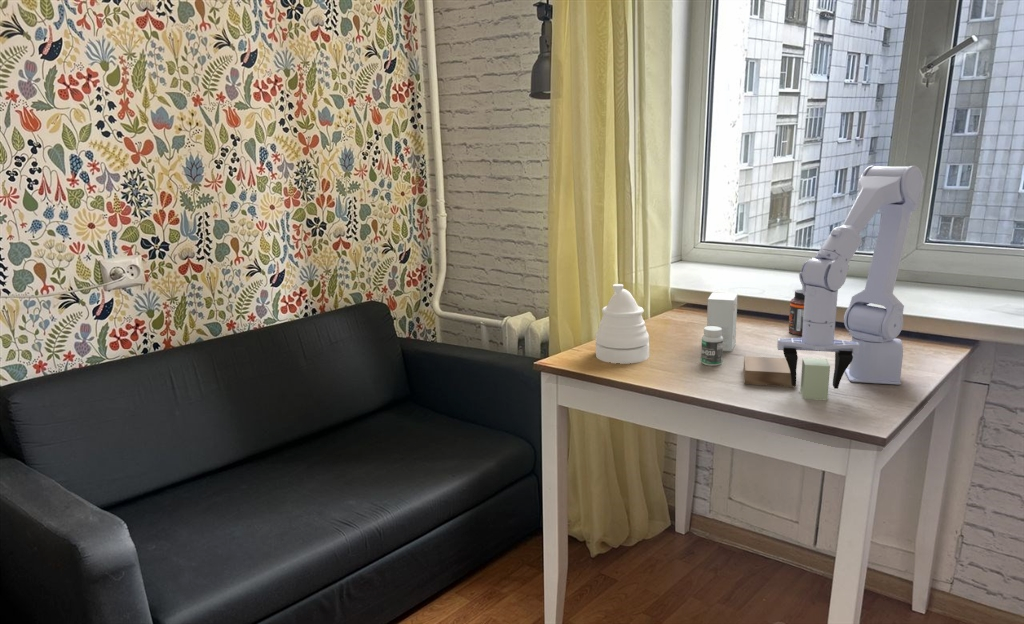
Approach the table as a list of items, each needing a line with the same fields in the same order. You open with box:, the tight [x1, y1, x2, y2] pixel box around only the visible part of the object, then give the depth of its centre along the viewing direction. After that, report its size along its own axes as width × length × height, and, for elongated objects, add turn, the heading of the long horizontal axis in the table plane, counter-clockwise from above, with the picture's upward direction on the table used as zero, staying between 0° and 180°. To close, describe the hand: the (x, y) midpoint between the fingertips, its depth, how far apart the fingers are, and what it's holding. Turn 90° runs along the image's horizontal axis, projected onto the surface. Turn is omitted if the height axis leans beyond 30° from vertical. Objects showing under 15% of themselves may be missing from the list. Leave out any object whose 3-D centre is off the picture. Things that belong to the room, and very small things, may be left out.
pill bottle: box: [700, 325, 724, 367], centre depth 155 cm, size 5×5×8 cm
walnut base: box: [743, 355, 797, 388], centre depth 145 cm, size 10×10×3 cm
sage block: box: [799, 357, 831, 401], centre depth 133 cm, size 4×4×7 cm
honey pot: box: [595, 283, 650, 365], centre depth 162 cm, size 13×13×18 cm
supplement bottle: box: [788, 289, 805, 336], centre depth 176 cm, size 6×6×11 cm
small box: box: [706, 291, 739, 352], centre depth 167 cm, size 8×6×13 cm
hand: (814, 385), depth 134 cm, fingers open, 7 cm apart
